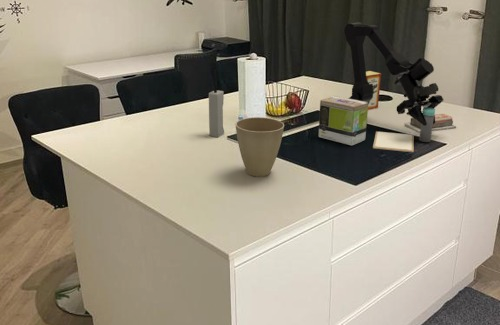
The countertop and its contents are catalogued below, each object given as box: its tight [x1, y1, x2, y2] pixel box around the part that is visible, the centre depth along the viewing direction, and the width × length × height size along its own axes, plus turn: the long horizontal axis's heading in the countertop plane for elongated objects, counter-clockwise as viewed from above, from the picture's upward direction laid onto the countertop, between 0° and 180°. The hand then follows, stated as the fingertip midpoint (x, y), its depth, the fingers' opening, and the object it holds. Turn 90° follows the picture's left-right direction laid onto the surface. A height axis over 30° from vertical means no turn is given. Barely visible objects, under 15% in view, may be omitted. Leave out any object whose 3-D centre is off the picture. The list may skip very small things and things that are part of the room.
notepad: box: [372, 130, 415, 153], centre depth 195 cm, size 14×19×1 cm
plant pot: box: [235, 116, 285, 177], centre depth 164 cm, size 15×15×16 cm
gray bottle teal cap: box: [418, 107, 436, 143], centre depth 194 cm, size 4×4×12 cm
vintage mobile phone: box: [208, 69, 225, 138], centre depth 196 cm, size 4×5×25 cm
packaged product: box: [403, 113, 457, 134], centre depth 212 cm, size 18×5×10 cm
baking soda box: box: [366, 70, 382, 111], centre depth 236 cm, size 10×6×16 cm
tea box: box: [318, 95, 369, 146], centre depth 196 cm, size 15×10×15 cm, turn 47°
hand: (430, 124), depth 192 cm, fingers closed on gray bottle teal cap, 4 cm apart
